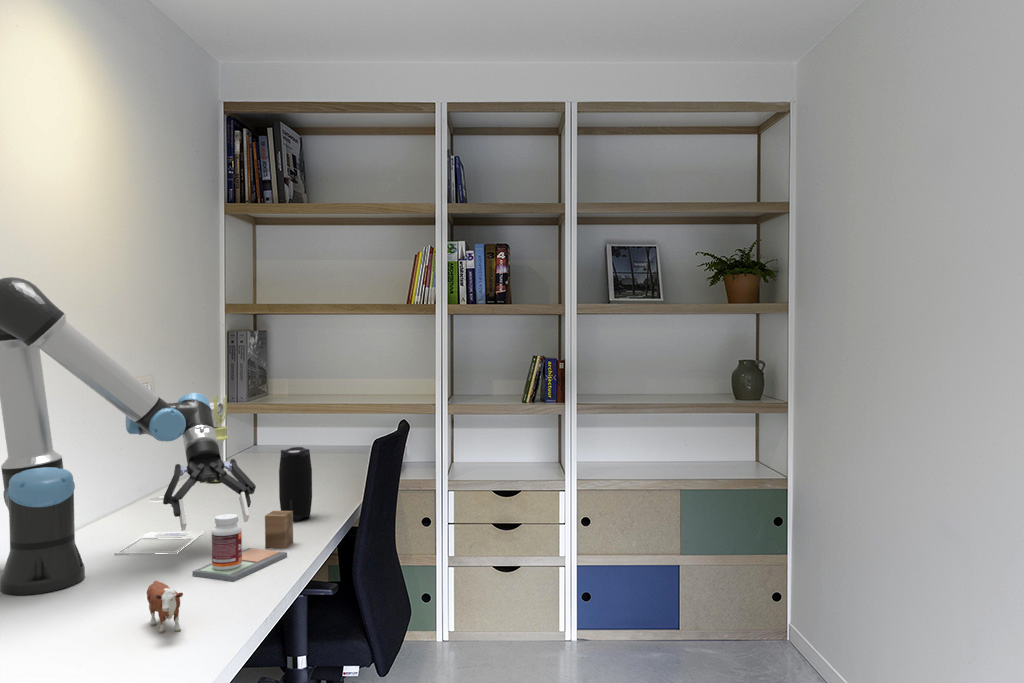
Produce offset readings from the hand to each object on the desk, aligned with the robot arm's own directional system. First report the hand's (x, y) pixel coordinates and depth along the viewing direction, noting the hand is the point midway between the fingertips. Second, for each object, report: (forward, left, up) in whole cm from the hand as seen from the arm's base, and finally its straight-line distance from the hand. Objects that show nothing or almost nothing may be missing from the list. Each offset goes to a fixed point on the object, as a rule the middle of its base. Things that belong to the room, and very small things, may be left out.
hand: (216, 522), depth 172 cm
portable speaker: (+39, +7, -9) cm, 41 cm away
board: (0, -7, -9) cm, 11 cm away
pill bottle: (-4, -7, -8) cm, 11 cm away
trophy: (+73, +65, -9) cm, 98 cm away
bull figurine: (-33, -18, -9) cm, 39 cm away
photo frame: (+8, +24, -10) cm, 27 cm away
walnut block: (+16, -5, -9) cm, 19 cm away
